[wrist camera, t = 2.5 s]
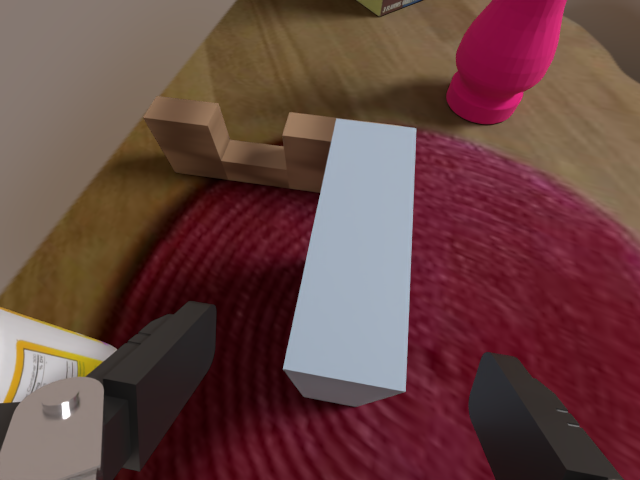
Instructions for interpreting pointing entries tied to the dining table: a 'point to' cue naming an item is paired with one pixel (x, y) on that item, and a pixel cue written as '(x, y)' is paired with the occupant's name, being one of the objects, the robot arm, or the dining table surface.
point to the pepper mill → (503, 57)
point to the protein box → (385, 5)
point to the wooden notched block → (240, 146)
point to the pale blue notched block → (357, 270)
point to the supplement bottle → (42, 355)
